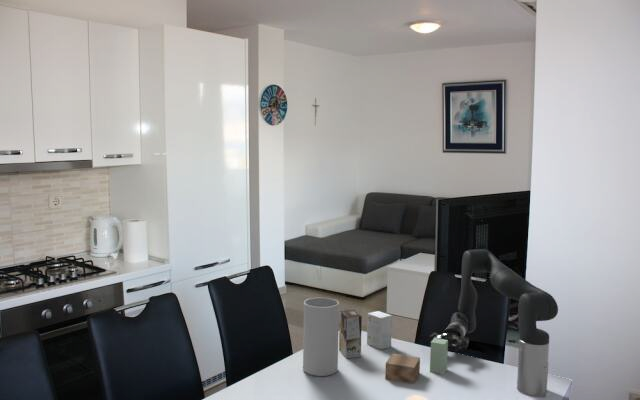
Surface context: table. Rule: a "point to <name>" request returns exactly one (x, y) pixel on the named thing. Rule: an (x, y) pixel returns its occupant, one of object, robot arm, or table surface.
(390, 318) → the small box
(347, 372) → the table surface
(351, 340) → the coffee box
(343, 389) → the table surface
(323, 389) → the table surface
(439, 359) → the sage block
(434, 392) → the table surface
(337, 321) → the cylinder vase
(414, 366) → the walnut block
